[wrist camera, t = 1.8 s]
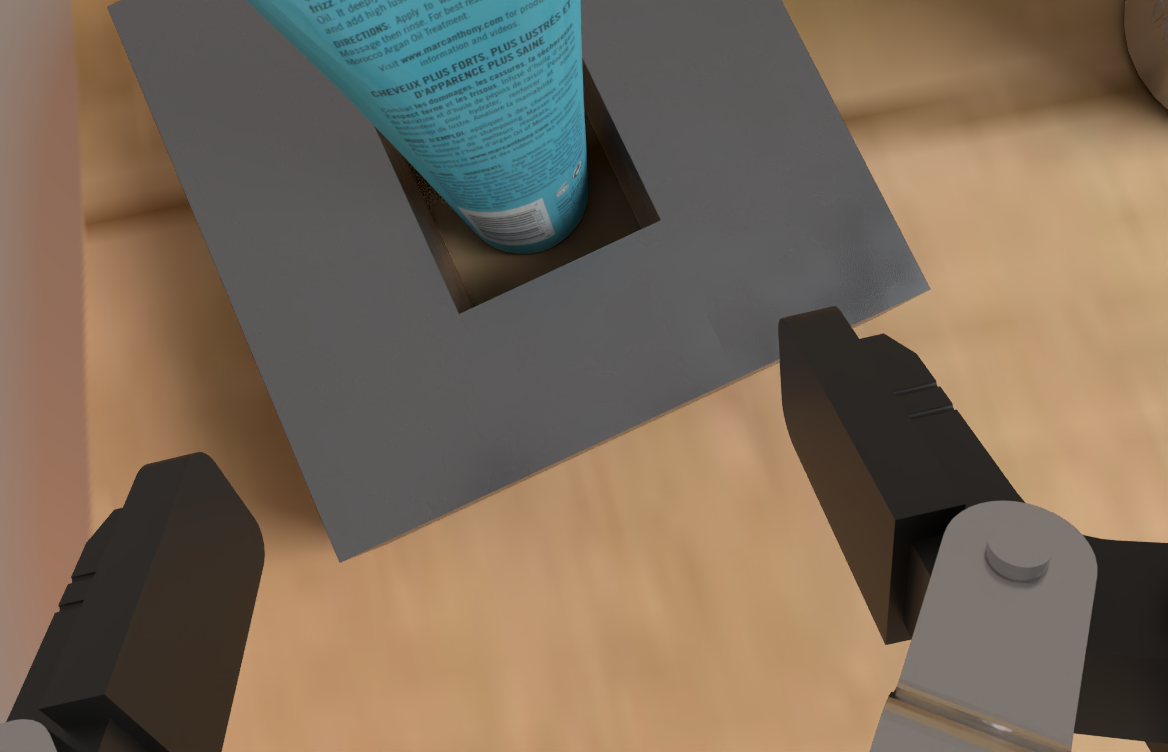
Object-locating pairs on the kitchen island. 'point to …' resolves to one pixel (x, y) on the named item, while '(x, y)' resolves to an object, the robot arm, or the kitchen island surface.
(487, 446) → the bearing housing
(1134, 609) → the robot arm
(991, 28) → the kitchen island surface
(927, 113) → the kitchen island surface
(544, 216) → the tube
